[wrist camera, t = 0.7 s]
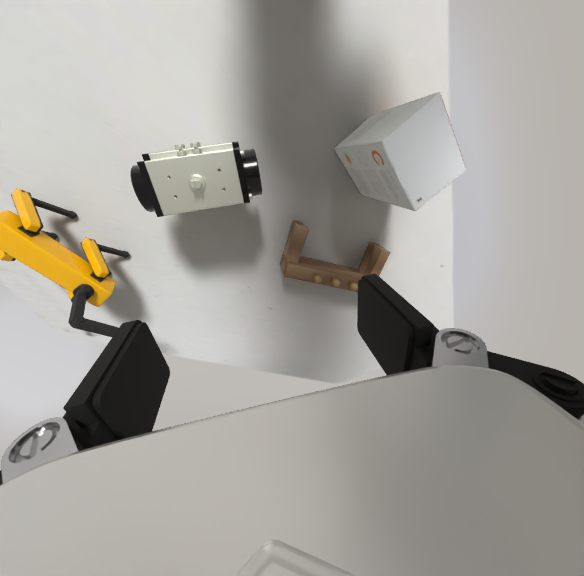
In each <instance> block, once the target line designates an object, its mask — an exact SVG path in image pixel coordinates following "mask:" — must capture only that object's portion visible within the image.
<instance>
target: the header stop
mask: <svg viewBox="0 0 584 576" xmlns="http://www.w3.org/2000/svg"><path fill="white" fill-rule="evenodd" d="M308 231H309V230H308V229H307V228H306V227H305V226H304V225H303V224H302V223H299V222H296V221H293V222H292V225H291V229H290V232H289V235H288V239H287V242H286V245H285V249H284V252H283V255H282V259H281V262H280V265H281V268H282V270H283V273H284V276H285V277H289V278H294V279H299V280H304V281H308V282H313V283H318V284H323V285H328V286H332V287H337V288H342V289H347V290H352V291H356V292H358V281H359V280H361V278H362V276H365V275H370V274H377V275H378V276H379V275H380V273H381V271H382V269H383V266H384V264H385V262H386V260H387V258H388V256H389V254H390V252H389V251H387V250H386V249H384V248H383V247H381V246H379V245H378V244H374V243H371V242H370V243H369V246H368V248H367V250H366V252H365V255H364V257H363V259H362V262H361V264H360V266H359V268H358V270H357V269H353V268H349V267H345V266H340V265H336V264H332V263H328V262H324V261H319V260H315V259H311V258H307V257H303V256H300V255H301V252H302V249H303V246H304V243H305V240H306V237H307V234H308Z"/></svg>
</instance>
